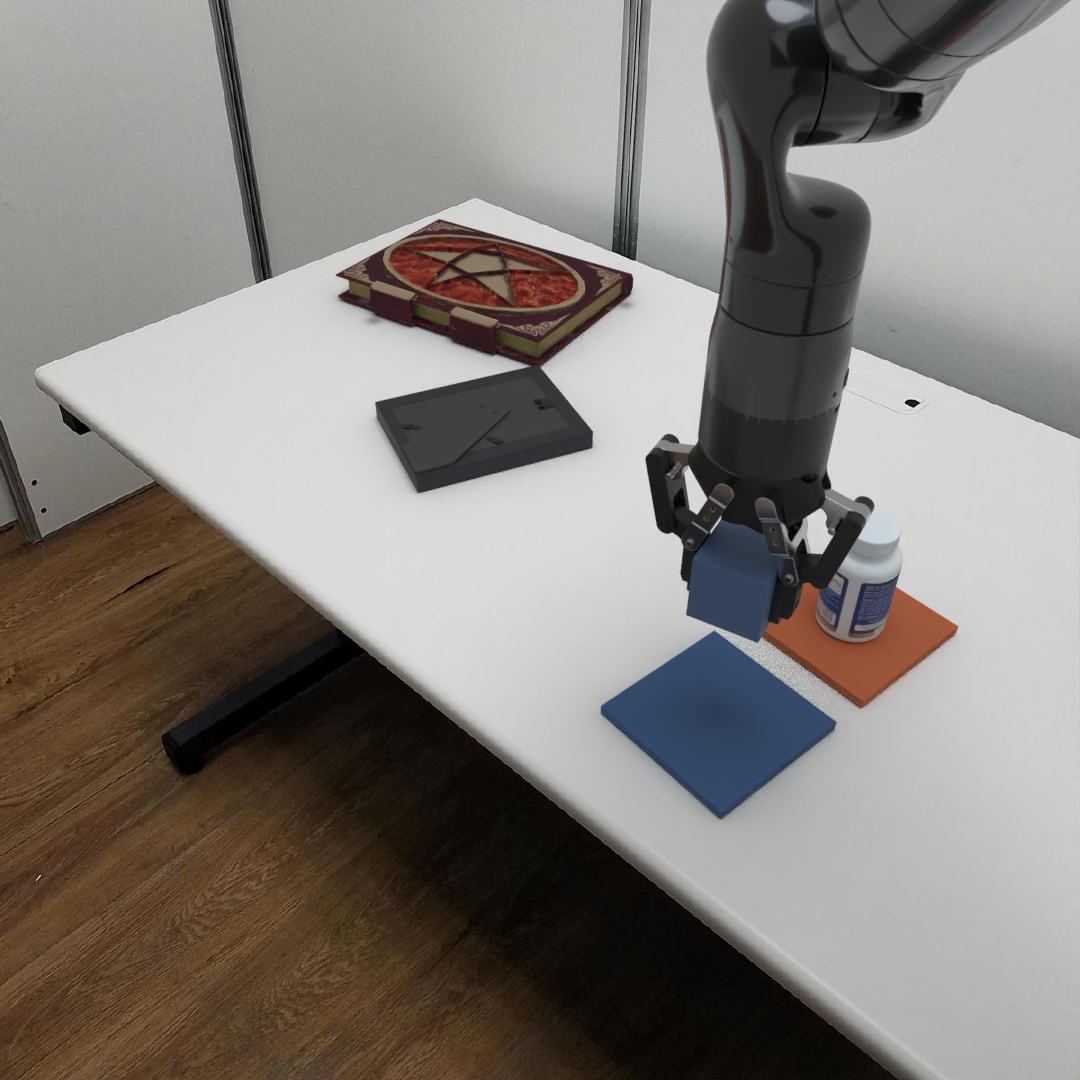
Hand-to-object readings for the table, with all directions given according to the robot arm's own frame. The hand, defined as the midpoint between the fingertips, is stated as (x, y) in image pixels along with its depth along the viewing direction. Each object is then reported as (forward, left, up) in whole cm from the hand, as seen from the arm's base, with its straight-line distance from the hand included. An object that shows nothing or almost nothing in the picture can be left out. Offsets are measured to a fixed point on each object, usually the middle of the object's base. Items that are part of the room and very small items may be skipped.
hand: (737, 599), depth 69 cm
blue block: (0, 0, -1) cm, 1 cm away
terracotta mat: (0, -15, -12) cm, 19 cm away
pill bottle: (0, -15, -12) cm, 19 cm away
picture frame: (+40, -9, -12) cm, 43 cm away
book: (+62, -26, -12) cm, 68 cm away
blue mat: (0, 0, -12) cm, 12 cm away
